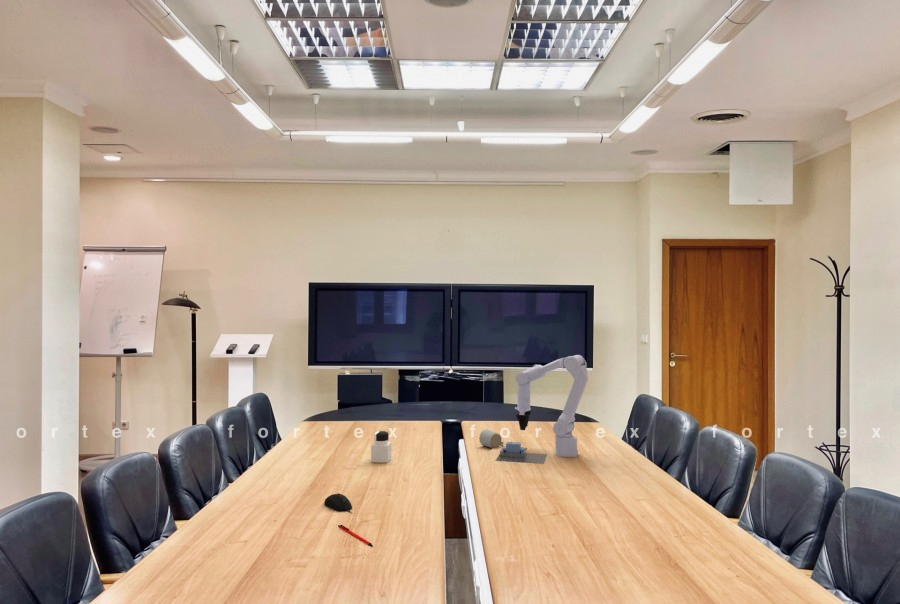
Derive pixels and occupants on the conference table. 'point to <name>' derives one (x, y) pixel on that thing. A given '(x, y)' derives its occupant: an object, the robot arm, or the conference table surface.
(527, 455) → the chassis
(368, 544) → the pen
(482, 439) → the ceramic mug
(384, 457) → the medicine bottle
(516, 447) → the servo
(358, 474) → the conference table surface
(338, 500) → the gaming mouse
